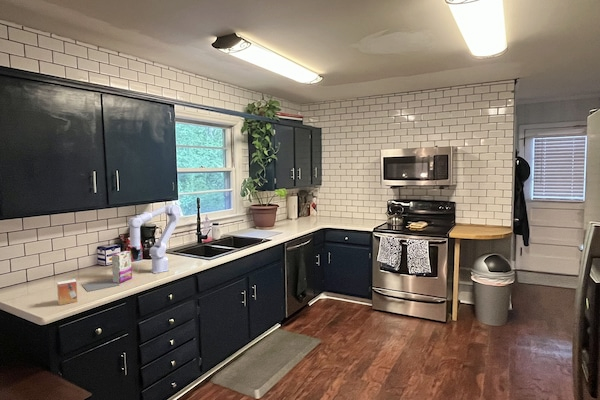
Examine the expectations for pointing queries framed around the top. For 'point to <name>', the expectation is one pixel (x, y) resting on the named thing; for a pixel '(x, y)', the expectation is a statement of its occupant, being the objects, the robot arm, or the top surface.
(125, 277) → the candy bar box
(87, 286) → the mat
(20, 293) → the top surface
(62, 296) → the small box
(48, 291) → the top surface
